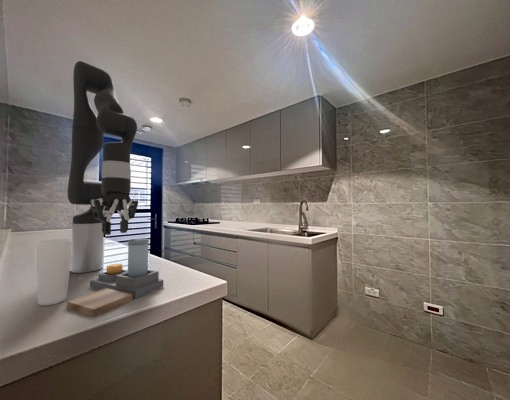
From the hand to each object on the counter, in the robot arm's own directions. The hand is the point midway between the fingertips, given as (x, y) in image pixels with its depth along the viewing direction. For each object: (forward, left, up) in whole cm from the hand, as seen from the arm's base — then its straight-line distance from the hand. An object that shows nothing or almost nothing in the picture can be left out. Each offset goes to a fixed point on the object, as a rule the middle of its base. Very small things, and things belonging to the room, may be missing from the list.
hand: (115, 233), depth 66 cm
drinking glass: (-2, -14, -16) cm, 21 cm away
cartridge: (+10, 0, -13) cm, 17 cm away
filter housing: (+5, 0, -15) cm, 16 cm away
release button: (0, 0, -12) cm, 12 cm away
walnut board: (+10, -10, -15) cm, 21 cm away
